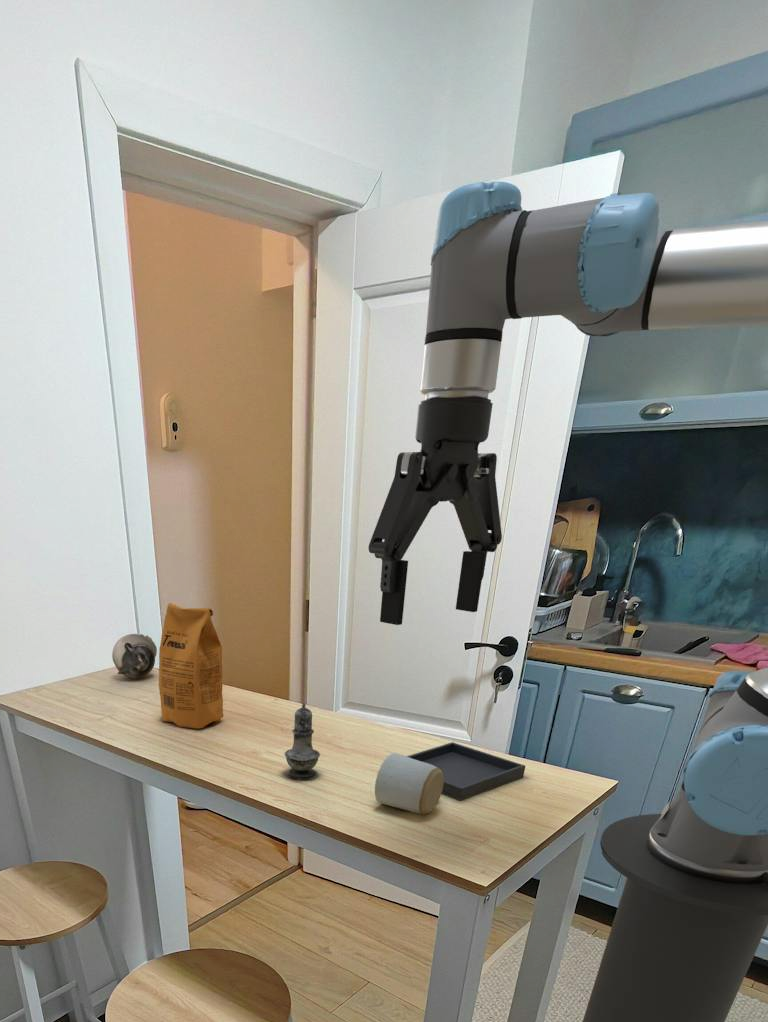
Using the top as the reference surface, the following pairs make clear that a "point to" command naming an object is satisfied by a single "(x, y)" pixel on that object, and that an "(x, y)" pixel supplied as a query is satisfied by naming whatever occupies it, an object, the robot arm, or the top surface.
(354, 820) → the top surface
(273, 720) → the top surface
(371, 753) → the top surface
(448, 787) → the tray
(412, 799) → the ceramic mug
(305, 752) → the dark chess piece
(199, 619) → the coffee package
